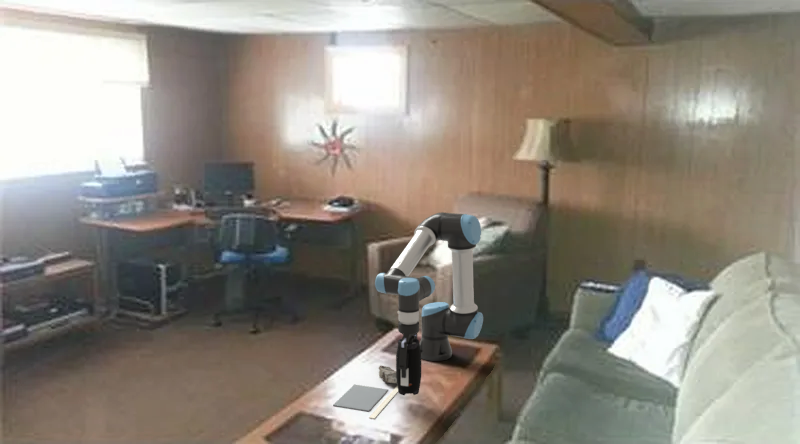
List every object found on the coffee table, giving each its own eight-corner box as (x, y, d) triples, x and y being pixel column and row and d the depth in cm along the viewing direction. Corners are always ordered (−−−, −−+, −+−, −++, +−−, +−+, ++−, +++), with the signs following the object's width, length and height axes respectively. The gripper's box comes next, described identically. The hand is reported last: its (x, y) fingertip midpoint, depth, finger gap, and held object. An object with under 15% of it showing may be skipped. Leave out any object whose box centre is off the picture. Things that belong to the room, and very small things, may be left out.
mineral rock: (405, 386, 273) (406, 375, 272) (386, 388, 271) (386, 377, 270) (396, 373, 287) (396, 362, 286) (377, 375, 285) (377, 364, 284)
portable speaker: (418, 398, 252) (418, 346, 248) (393, 395, 255) (392, 343, 251) (423, 388, 260) (423, 338, 257) (399, 385, 263) (399, 335, 259)
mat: (354, 385, 274) (354, 384, 274) (388, 390, 270) (388, 389, 270) (333, 405, 255) (333, 404, 255) (368, 411, 251) (368, 410, 251)
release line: (397, 386, 274) (397, 385, 274) (402, 386, 273) (402, 386, 273) (369, 418, 246) (369, 417, 246) (374, 419, 245) (374, 418, 245)
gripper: (408, 311, 264) (408, 368, 268) (388, 329, 244) (389, 390, 248) (427, 313, 261) (426, 371, 265) (409, 331, 241) (409, 393, 245)
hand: (408, 380), depth 257 cm, fingers closed on portable speaker, 8 cm apart
